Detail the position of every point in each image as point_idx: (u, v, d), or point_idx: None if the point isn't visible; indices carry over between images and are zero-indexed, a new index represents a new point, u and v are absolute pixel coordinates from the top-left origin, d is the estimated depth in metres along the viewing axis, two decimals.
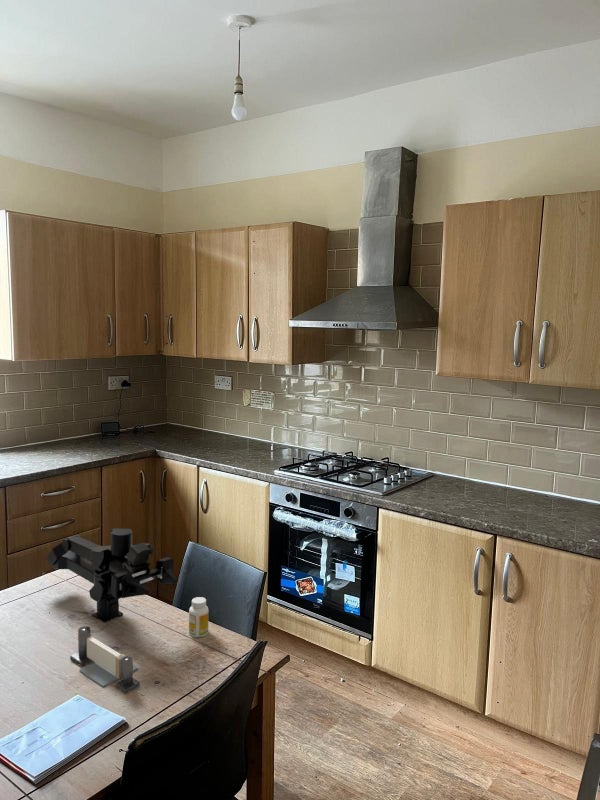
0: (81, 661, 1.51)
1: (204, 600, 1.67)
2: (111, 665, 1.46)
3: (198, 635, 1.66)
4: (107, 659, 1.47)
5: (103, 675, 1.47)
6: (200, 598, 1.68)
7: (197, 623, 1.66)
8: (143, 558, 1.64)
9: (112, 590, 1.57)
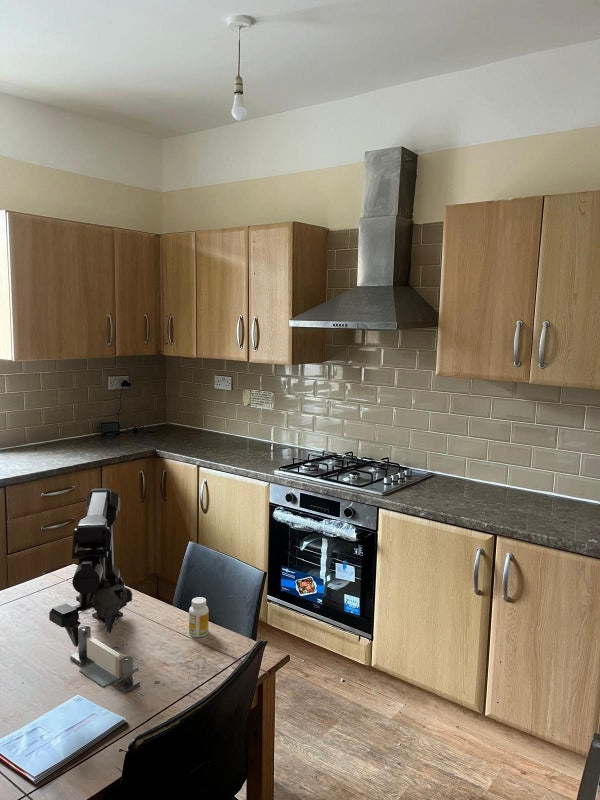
0: (81, 661, 1.51)
1: (204, 600, 1.67)
2: (111, 665, 1.46)
3: (198, 635, 1.66)
4: (107, 659, 1.47)
5: (103, 675, 1.47)
6: (200, 598, 1.68)
7: (197, 623, 1.66)
8: None
9: (52, 615, 1.34)
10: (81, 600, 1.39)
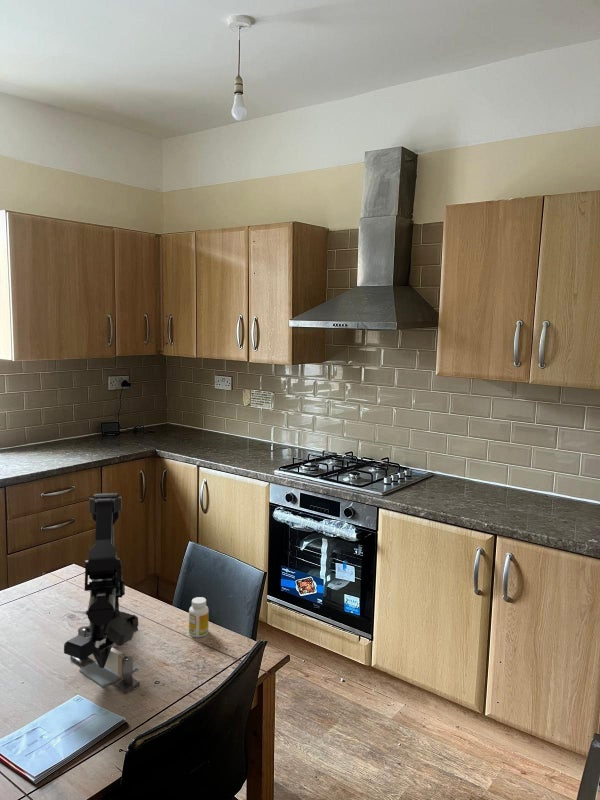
0: (81, 661, 1.51)
1: (204, 600, 1.67)
2: (113, 664, 1.46)
3: (198, 635, 1.66)
4: (109, 658, 1.47)
5: (103, 675, 1.47)
6: (200, 598, 1.68)
7: (197, 623, 1.66)
8: None
9: (68, 648, 1.36)
10: (93, 630, 1.42)
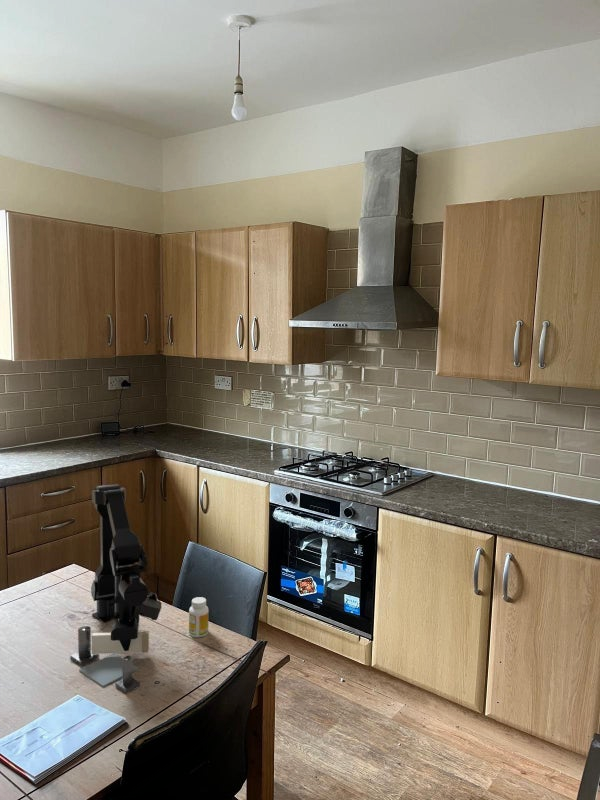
0: (81, 661, 1.51)
1: (204, 600, 1.67)
2: (134, 645, 1.55)
3: (198, 635, 1.66)
4: None
5: (103, 675, 1.47)
6: (200, 598, 1.68)
7: (197, 623, 1.66)
8: None
9: (119, 633, 1.43)
10: (125, 615, 1.49)
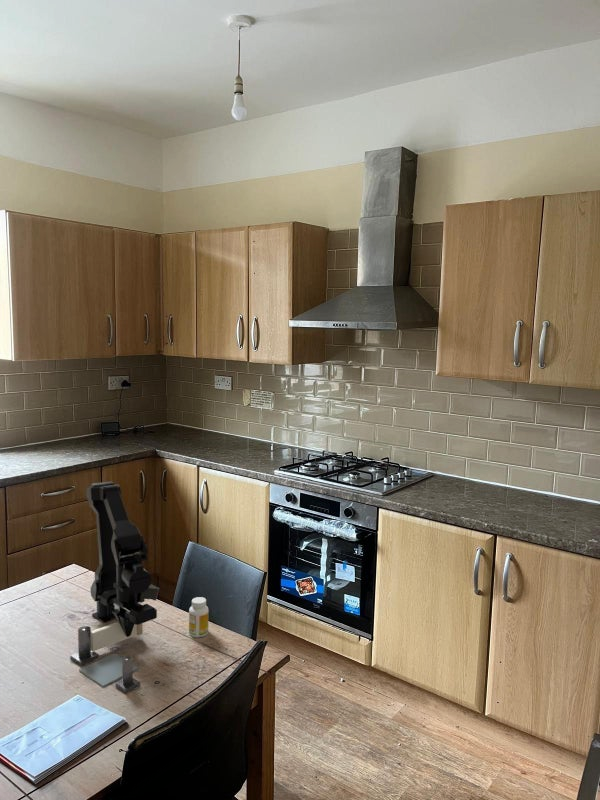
0: (81, 661, 1.51)
1: (204, 600, 1.67)
2: None
3: (198, 635, 1.66)
4: None
5: (103, 675, 1.47)
6: (200, 598, 1.68)
7: (197, 623, 1.66)
8: None
9: (144, 616, 1.51)
10: (133, 601, 1.56)
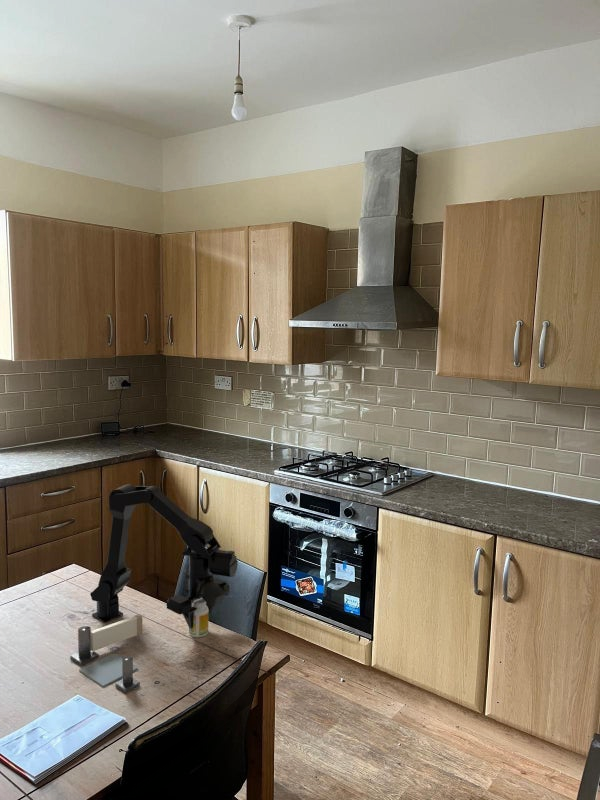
0: (81, 661, 1.51)
1: (204, 600, 1.67)
2: (130, 631, 1.62)
3: (198, 635, 1.66)
4: (124, 629, 1.61)
5: (103, 675, 1.47)
6: None
7: (197, 623, 1.66)
8: None
9: (170, 604, 1.61)
10: (191, 591, 1.65)
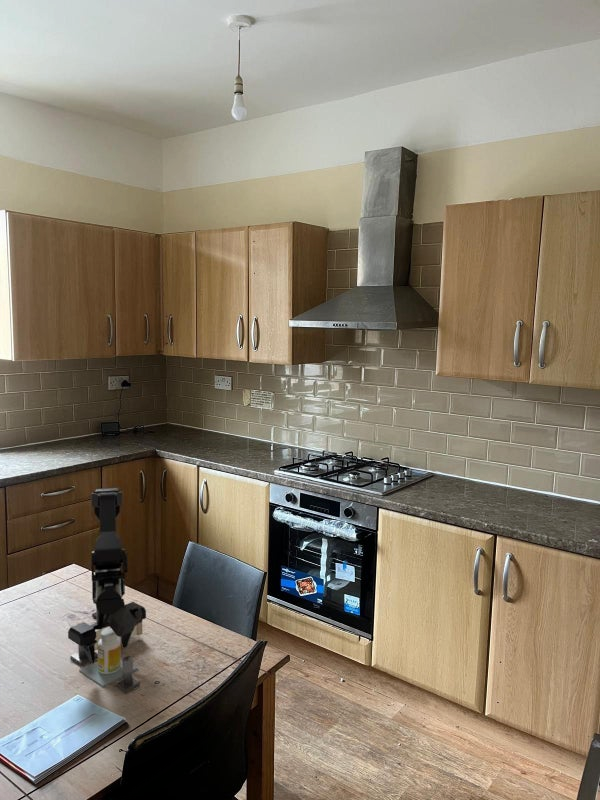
0: (81, 661, 1.51)
1: None
2: None
3: (107, 672, 1.47)
4: None
5: (103, 675, 1.47)
6: (111, 630, 1.49)
7: (106, 658, 1.46)
8: None
9: (71, 634, 1.41)
10: (98, 619, 1.45)
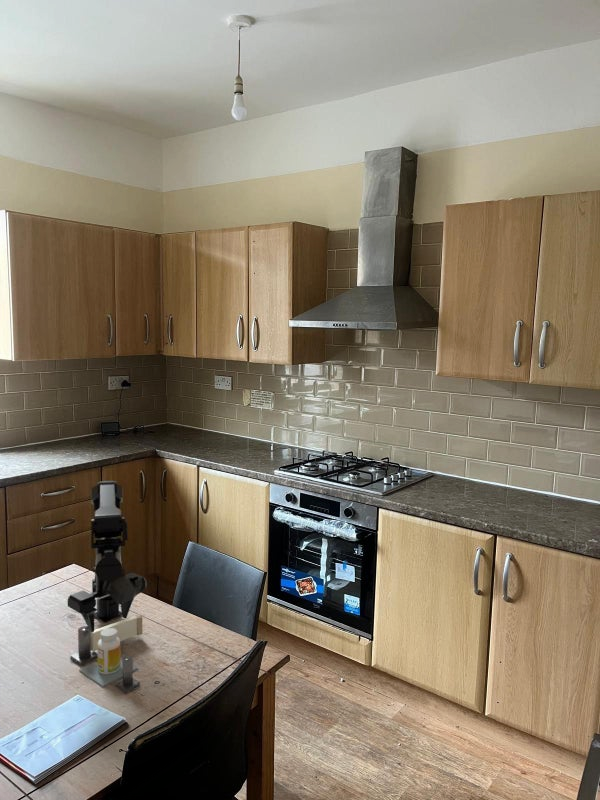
0: (81, 661, 1.51)
1: (115, 632, 1.48)
2: (130, 631, 1.62)
3: (107, 672, 1.47)
4: (124, 629, 1.61)
5: (103, 675, 1.47)
6: (111, 630, 1.49)
7: (105, 658, 1.46)
8: None
9: (71, 601, 1.40)
10: (98, 587, 1.44)
